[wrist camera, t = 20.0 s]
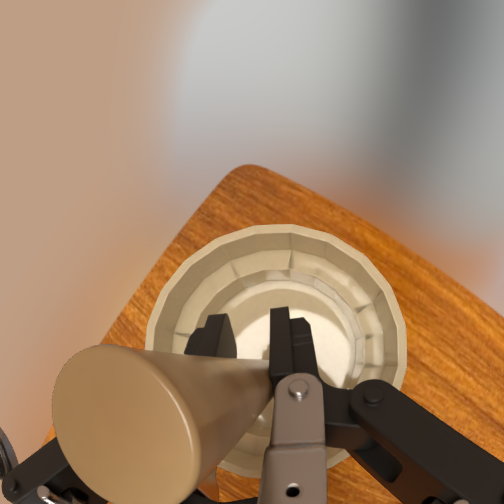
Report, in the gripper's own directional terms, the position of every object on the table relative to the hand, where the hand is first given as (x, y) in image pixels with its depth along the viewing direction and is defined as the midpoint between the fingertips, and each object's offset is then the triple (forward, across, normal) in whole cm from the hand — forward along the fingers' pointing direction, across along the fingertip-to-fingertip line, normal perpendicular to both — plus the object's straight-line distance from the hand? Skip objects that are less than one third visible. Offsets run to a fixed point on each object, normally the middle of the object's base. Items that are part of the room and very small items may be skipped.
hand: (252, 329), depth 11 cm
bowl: (+6, 0, +8) cm, 10 cm away
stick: (+4, 0, +7) cm, 8 cm away
